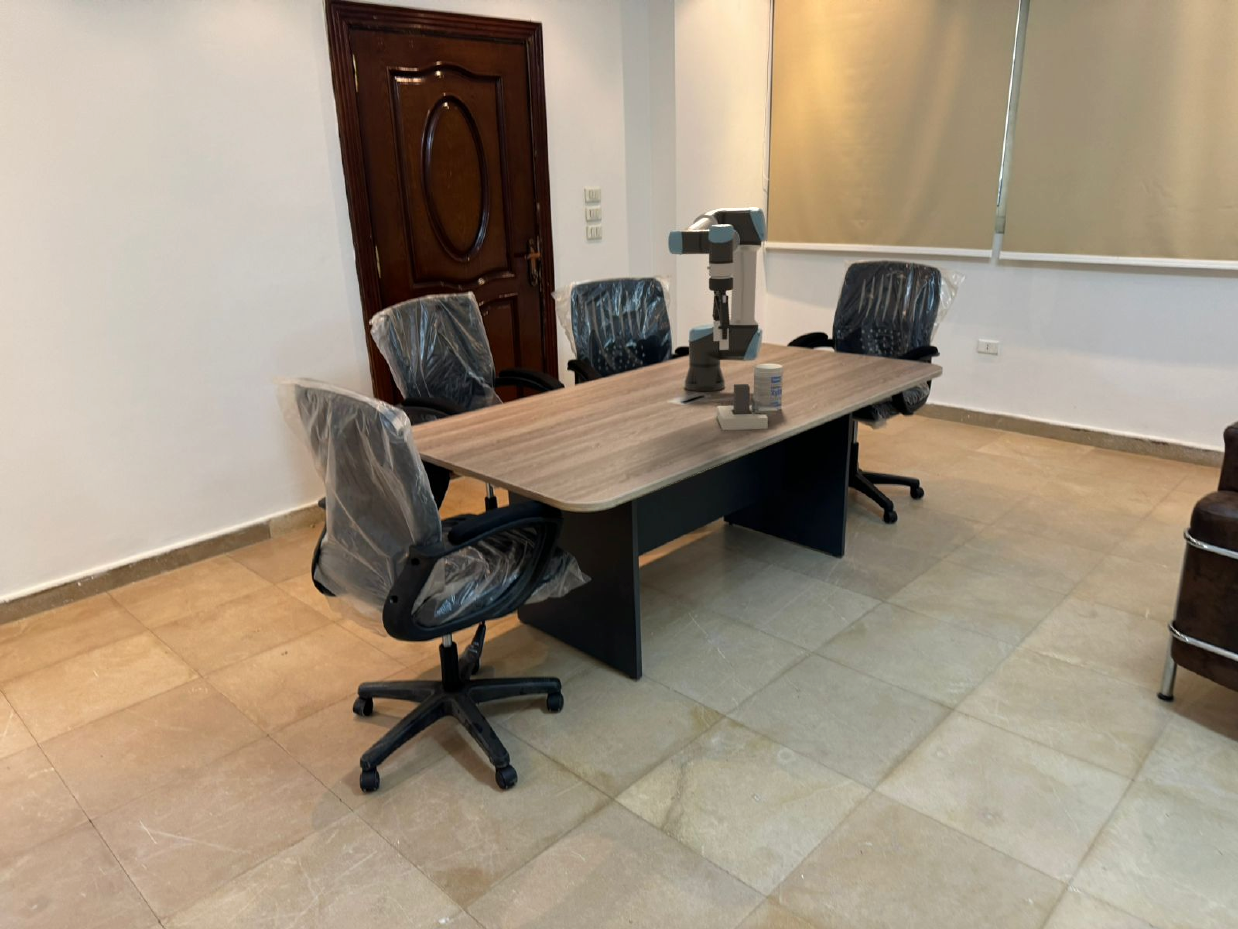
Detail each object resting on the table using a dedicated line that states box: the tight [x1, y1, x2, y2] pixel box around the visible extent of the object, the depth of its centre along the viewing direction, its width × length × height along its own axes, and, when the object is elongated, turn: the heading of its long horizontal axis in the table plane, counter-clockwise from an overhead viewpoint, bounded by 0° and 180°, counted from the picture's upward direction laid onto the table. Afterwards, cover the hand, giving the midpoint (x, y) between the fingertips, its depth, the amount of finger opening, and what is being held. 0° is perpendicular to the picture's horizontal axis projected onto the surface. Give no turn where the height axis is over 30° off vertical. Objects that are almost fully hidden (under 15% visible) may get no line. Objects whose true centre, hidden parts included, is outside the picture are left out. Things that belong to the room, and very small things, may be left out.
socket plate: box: [716, 404, 769, 431], centre depth 260 cm, size 16×14×4 cm
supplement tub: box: [753, 363, 784, 411], centre depth 273 cm, size 10×10×15 cm
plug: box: [733, 383, 751, 415], centre depth 259 cm, size 4×4×12 cm
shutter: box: [751, 396, 778, 414], centre depth 259 cm, size 7×7×4 cm
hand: (720, 345), depth 258 cm, fingers open, 13 cm apart
